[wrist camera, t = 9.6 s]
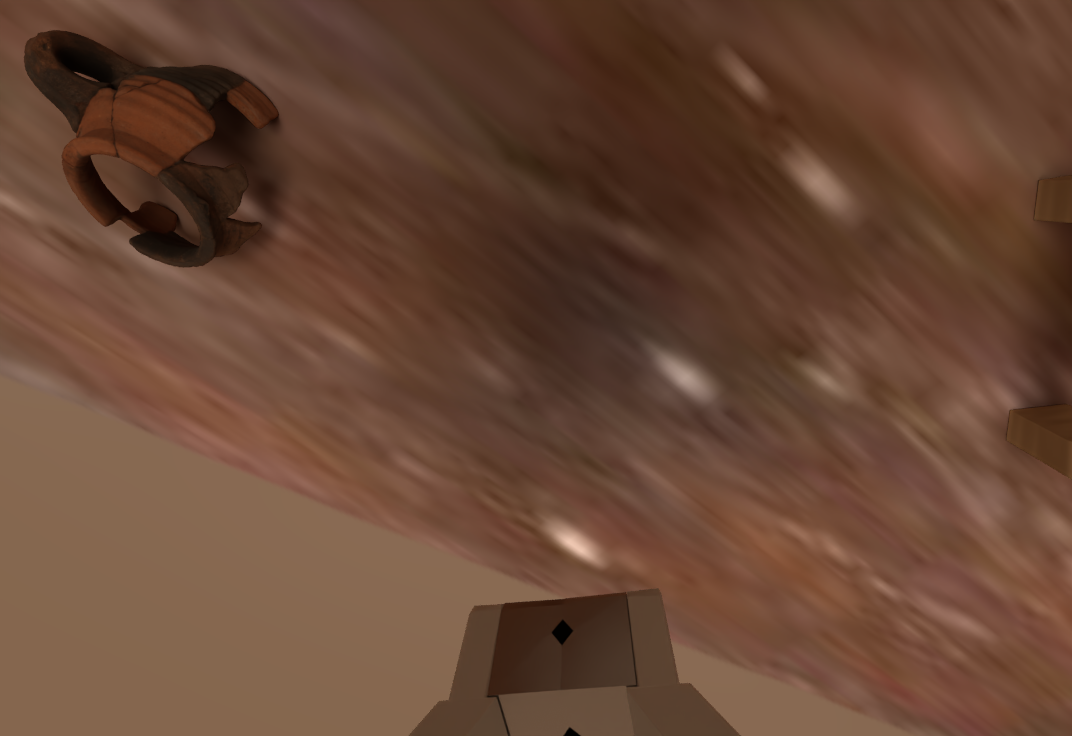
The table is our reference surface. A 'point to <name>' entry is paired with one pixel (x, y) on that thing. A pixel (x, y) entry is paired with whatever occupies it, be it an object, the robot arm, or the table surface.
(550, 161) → the table surface
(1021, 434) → the bridge
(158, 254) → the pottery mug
